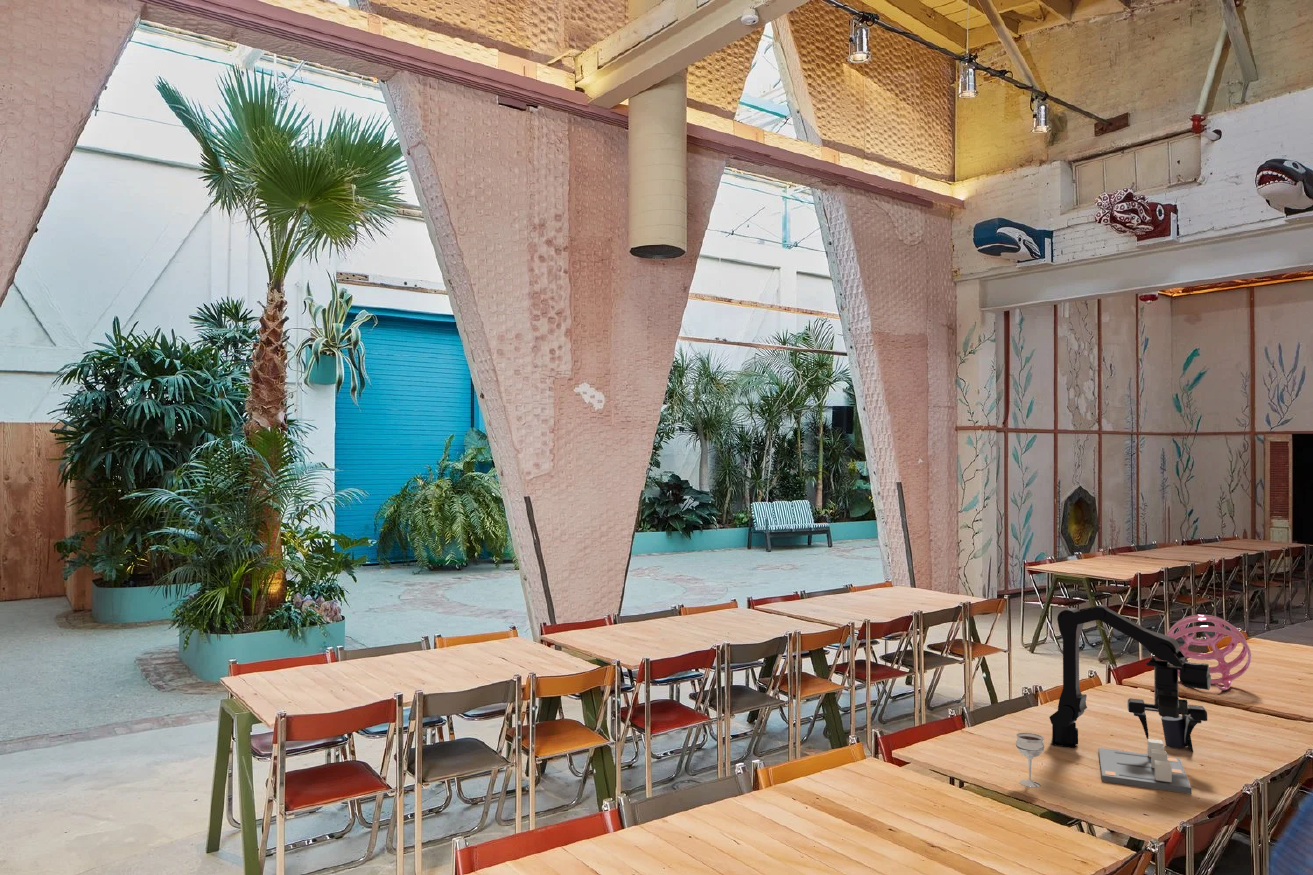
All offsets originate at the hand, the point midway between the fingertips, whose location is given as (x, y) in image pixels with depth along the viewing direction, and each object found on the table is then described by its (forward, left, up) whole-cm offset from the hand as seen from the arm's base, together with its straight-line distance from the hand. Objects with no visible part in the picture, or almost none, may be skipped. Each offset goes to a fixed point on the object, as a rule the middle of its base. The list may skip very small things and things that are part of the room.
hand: (1166, 740), depth 244 cm
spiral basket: (+23, +108, -7) cm, 111 cm away
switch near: (-3, -20, -4) cm, 21 cm away
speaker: (+4, +19, -7) cm, 21 cm away
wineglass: (-34, -33, -7) cm, 48 cm away
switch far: (-3, 0, -4) cm, 5 cm away
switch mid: (-3, -10, -4) cm, 11 cm away
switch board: (-7, -10, -6) cm, 14 cm away
